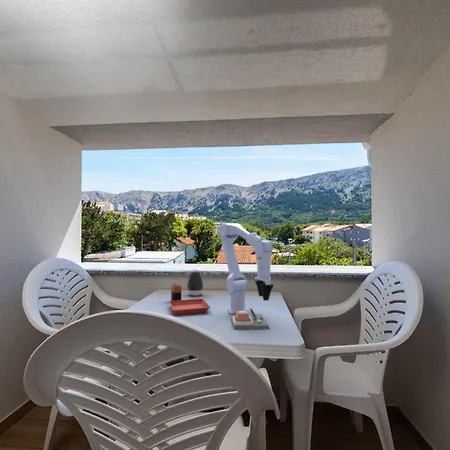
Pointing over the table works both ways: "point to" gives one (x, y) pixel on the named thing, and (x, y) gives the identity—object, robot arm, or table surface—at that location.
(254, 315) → the lever
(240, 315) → the pink cube
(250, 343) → the table surface
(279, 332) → the table surface
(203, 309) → the plant saucer
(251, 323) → the panel
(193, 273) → the dark grey egg shape
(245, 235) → the robot arm
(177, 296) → the battery
